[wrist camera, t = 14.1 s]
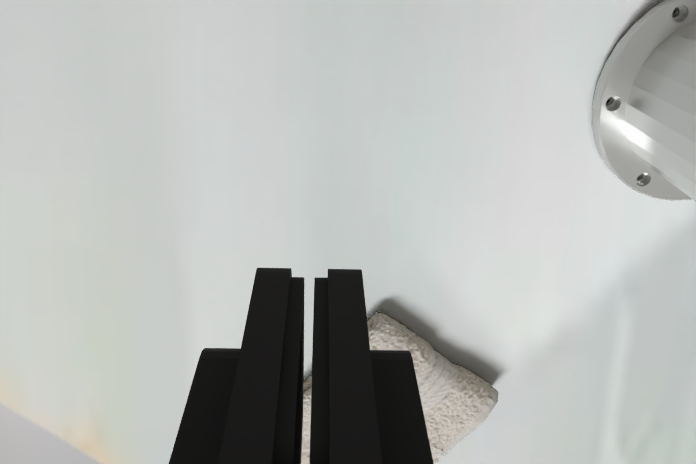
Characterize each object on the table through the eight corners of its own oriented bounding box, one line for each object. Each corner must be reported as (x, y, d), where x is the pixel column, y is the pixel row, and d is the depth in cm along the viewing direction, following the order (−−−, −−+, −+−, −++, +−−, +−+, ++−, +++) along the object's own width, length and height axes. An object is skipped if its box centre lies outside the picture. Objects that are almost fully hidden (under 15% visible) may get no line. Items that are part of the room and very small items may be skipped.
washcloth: (226, 450, 47) (221, 482, 44) (376, 297, 41) (381, 324, 39) (343, 510, 51) (345, 543, 48) (495, 378, 45) (507, 408, 43)
